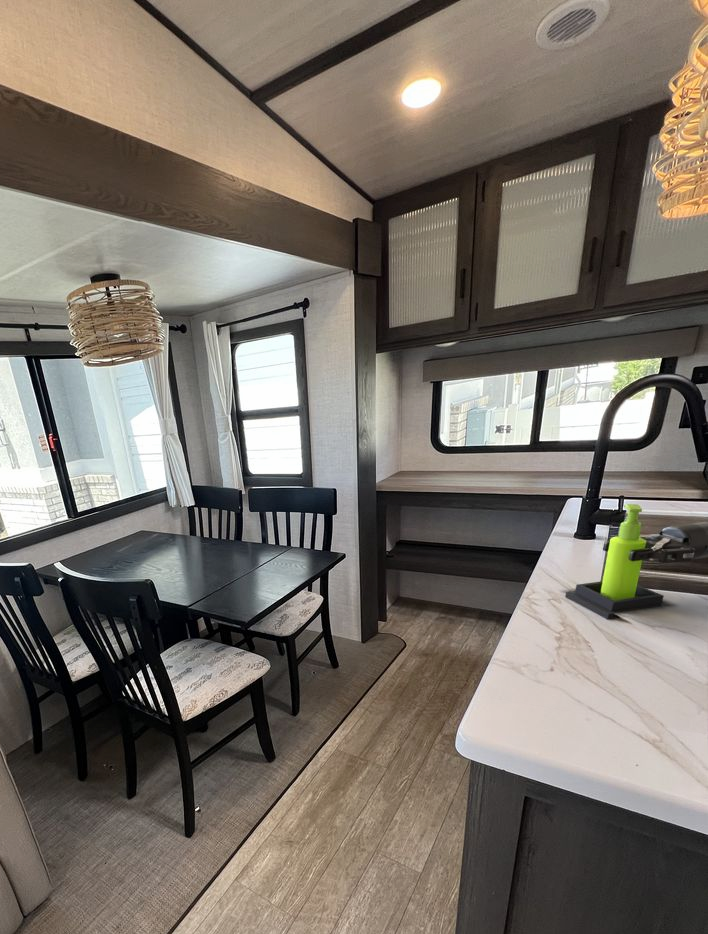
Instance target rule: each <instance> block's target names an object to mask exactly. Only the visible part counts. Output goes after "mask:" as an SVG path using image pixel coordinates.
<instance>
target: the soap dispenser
mask: <svg viewBox="0 0 708 934" xmlns="http://www.w3.org/2000/svg"><path fill="white" fill-rule="evenodd" d="M623 507H624V508H626V510H627V517H626V520H624V521H622V522H621V523H620V525H619V532H618V535H619V536H618V537H616V536H613V537H611V538H610V539H609V541H610V544H609V549H608V552H607V555H606V561H605V567H604V573H603V577H602V581H603V582H602V587H601V593H600V594H602V595H604V596H606V597H608V598H610V599H612V600H621V599H628V598H634V596H635V592H636V587H637V585H638V582H639V577H640V574H641V569H642V563H643V560H639V561H630V560H629V559H628V558H629V554H630V551H631V550H636V549H643V548H645V545H646V540H645V539H642V538H639V536H640V535H641V530H642V526H643V524H642V522H640V521H639V520H638V519H639V516H640V515H639V514H640V513H642V511H643V508H642V507H641V506H640V504H637V503H634V504H633V503H631V504H629V503H628V504H627V503H626V504H625V503H624V506H623Z"/></svg>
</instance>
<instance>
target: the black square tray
mask: <svg viewBox="0 0 708 934" xmlns="http://www.w3.org/2000/svg"><path fill="white" fill-rule="evenodd" d="M602 582H603V580H601V581H593V582H586V583H585V582H584V583H578V584H576V585H575V590H572V591H566V592H565V596H564V597H565V598H567V599H569V600H570V601H572V602H574V603H576V604H578V605H580V606H582V607H583V608H585V609H587V610H589V611H592V612H593V613H595V614H597V615H599V616H600V617H603V618H605V619H606V620H612V619H618V618H621V616H620V615H618V614H619V613H624V612H625V613H626V612H632V611H633V612H634V611H639V610H648V609H654V608H661V607H662V608H663V607H668V606H670V604H669V603H667V602H665V601H663V600H664V597H665V596H664V594H661V593H658V592H655V591H654V590H651V589H649V588H647V587H645V586H641V585H639V584H637V587H636V592H635V596H634V598H628V599H621V600H612V599H610V598H608V597H606V596H604V595H602V594H600V593H601V587H602ZM617 613H618V614H617Z"/></svg>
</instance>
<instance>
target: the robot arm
mask: <svg viewBox="0 0 708 934" xmlns="http://www.w3.org/2000/svg"><path fill="white" fill-rule="evenodd" d="M618 536H619V534H615V537H618ZM639 538H642V539H645V540H646V545H645V548H643V549H636V550H631V551H630V554H629V558H628V559H629V560H630V561H639V560H642V561H646V560H647V561H651V562H652V561H658V563H660V564H672V563H687V562H692V561H693V560H696V559H697V560H698V559H705V558H708V521H707V522H706V521H701V522H692V523H685V524H677V525H676V524H675V525H670V526H667V527H665V528H663V529H661V530H660V532H659V533H650V534H640V536H639ZM609 544H610V540H605V541H604V542H603V545H602V551H603V552H607V553H608V549H609Z"/></svg>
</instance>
